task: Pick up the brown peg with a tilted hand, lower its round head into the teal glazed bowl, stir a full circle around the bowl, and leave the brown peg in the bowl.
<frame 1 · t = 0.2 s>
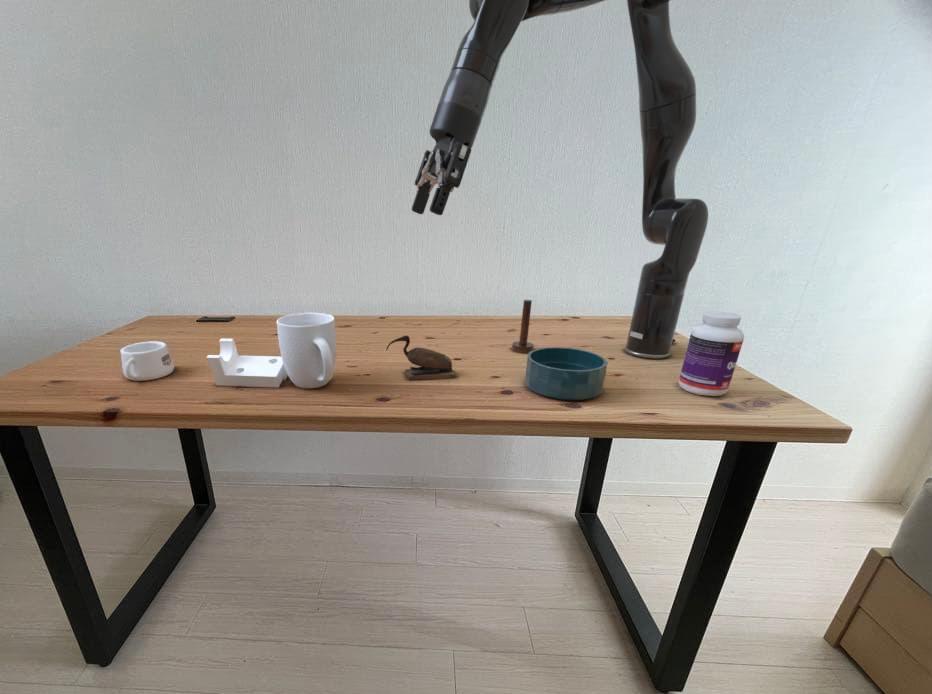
hand: (425, 213, 78), 31 cm above the table, tool tilted 20°, fingers open, 8 cm apart
mug: (313, 385, 91), on the table
bracket: (252, 382, 93), on the table
mug 2: (147, 376, 96), on the table
figurine: (420, 376, 95), on the table
bowl: (561, 387, 88), on the table
pill bottle: (700, 390, 87), on the table
brown peg: (522, 350, 110), on the table
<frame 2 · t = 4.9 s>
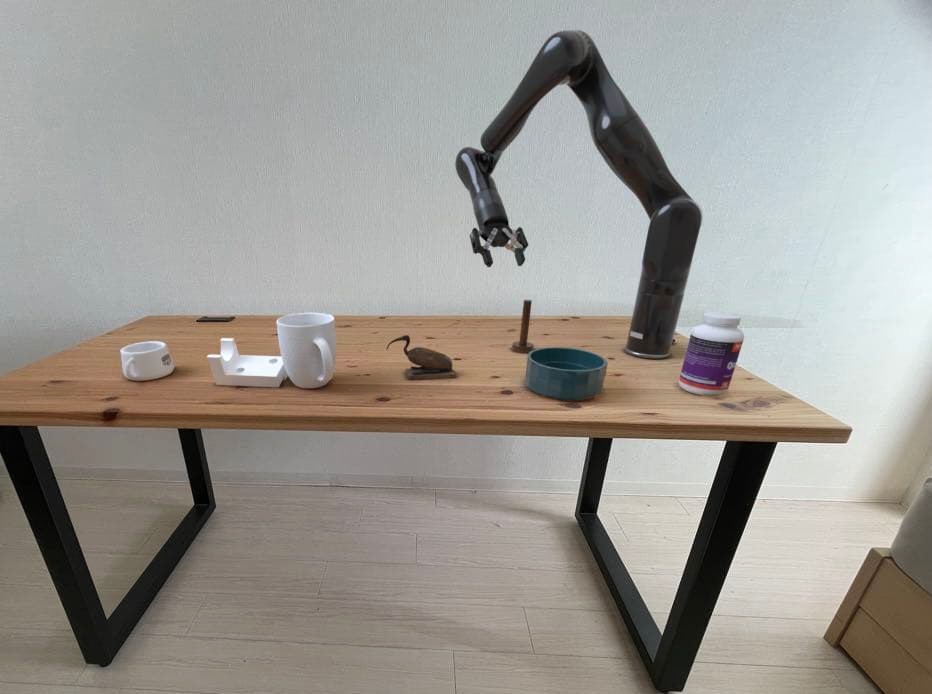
hand: (506, 264, 113), 19 cm above the table, tool tilted 45°, fingers open, 8 cm apart
nothing on the table moved.
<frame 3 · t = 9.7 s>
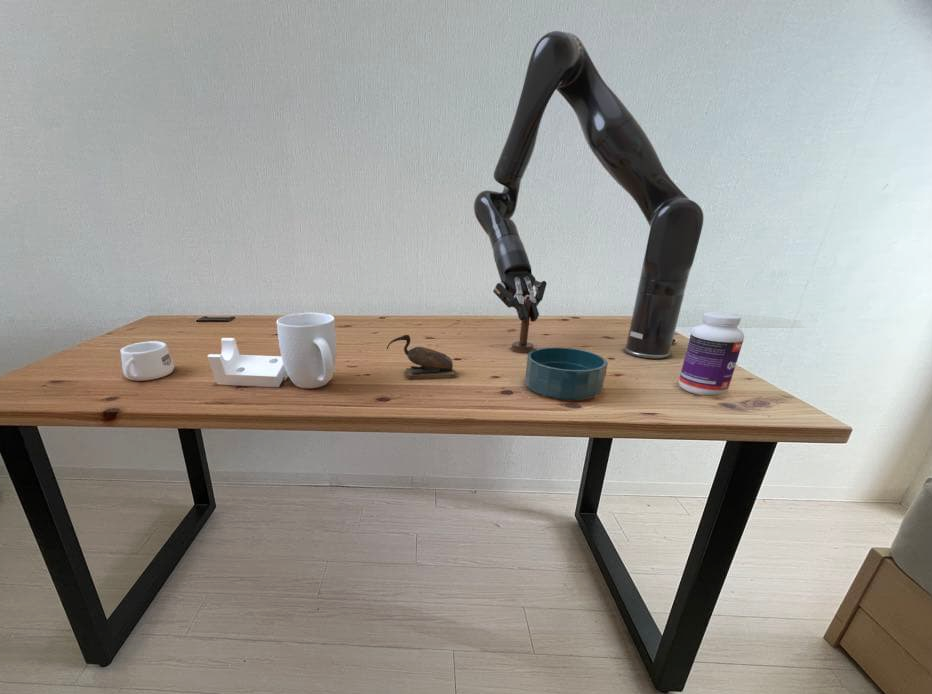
hand: (530, 319, 105), 8 cm above the table, tool tilted 45°, fingers closed on brown peg
brown peg: (522, 350, 110), on the table, touching gripper
everything else where it was.
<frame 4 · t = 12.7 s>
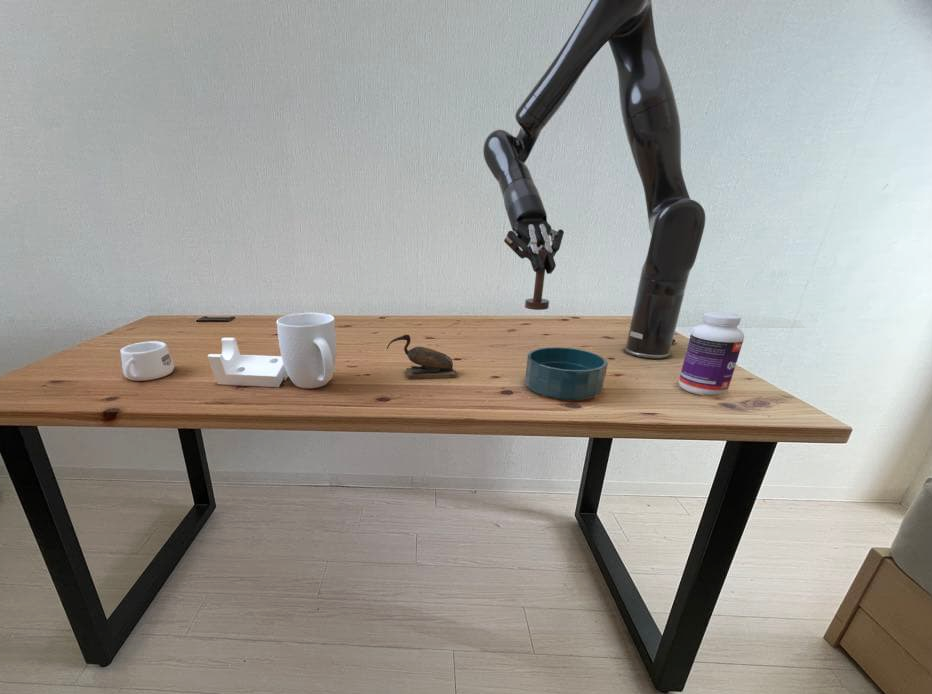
hand: (546, 271, 94), 20 cm above the table, tool tilted 45°, fingers closed on brown peg
brown peg: (536, 307, 99), point 12 cm above the table, touching gripper
everything else where it was.
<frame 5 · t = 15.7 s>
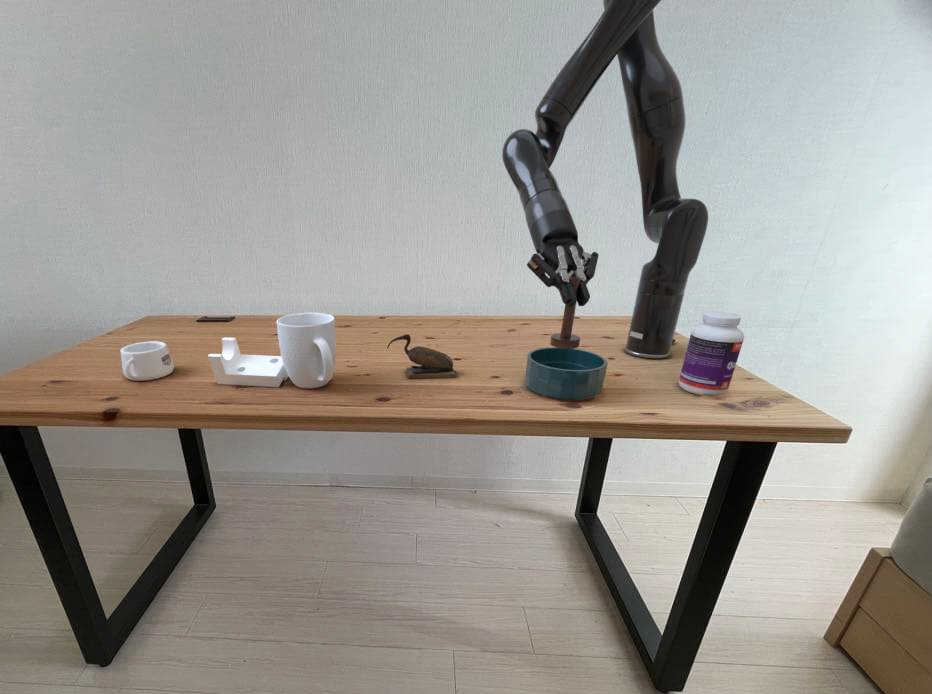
hand: (578, 303, 78), 17 cm above the table, tool tilted 45°, fingers closed on brown peg
brown peg: (564, 344, 83), point 9 cm above the table, touching gripper
everything else where it was.
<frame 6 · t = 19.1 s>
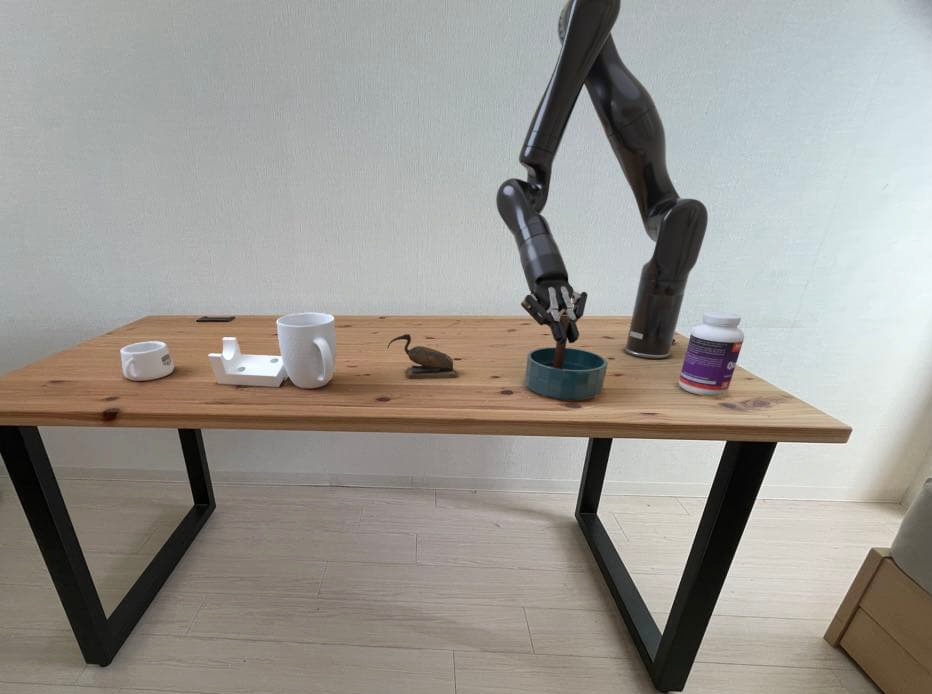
hand: (568, 341, 84), 9 cm above the table, tool tilted 45°, fingers closed on brown peg
brown peg: (556, 377, 89), point 1 cm above the table, touching gripper
everything else where it was.
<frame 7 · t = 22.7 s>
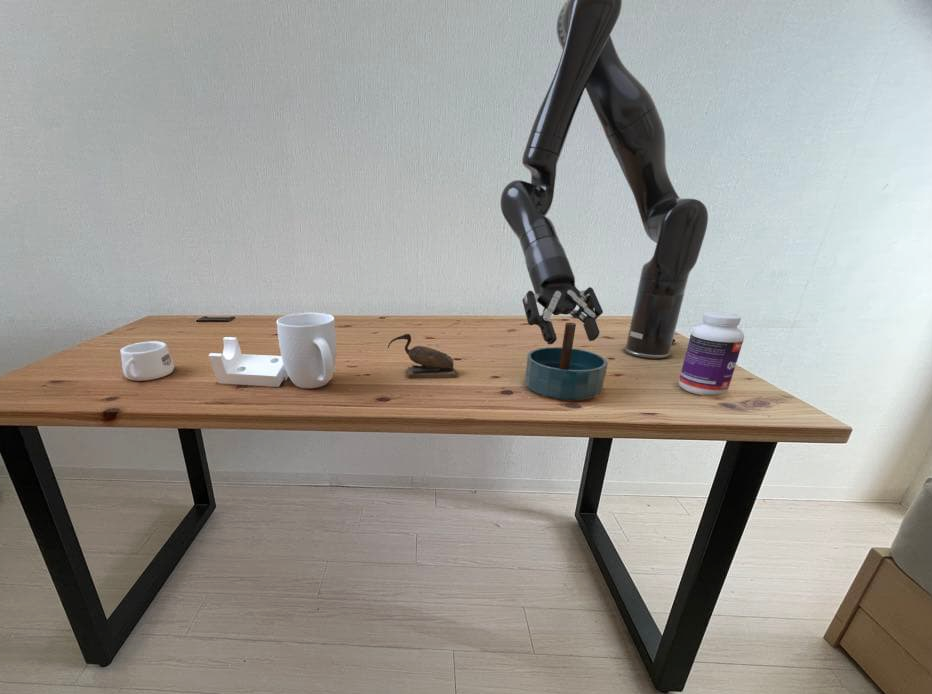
hand: (573, 340, 83), 10 cm above the table, tool tilted 45°, fingers open, 8 cm apart
brown peg: (561, 384, 88), point 1 cm above the table, touching bowl
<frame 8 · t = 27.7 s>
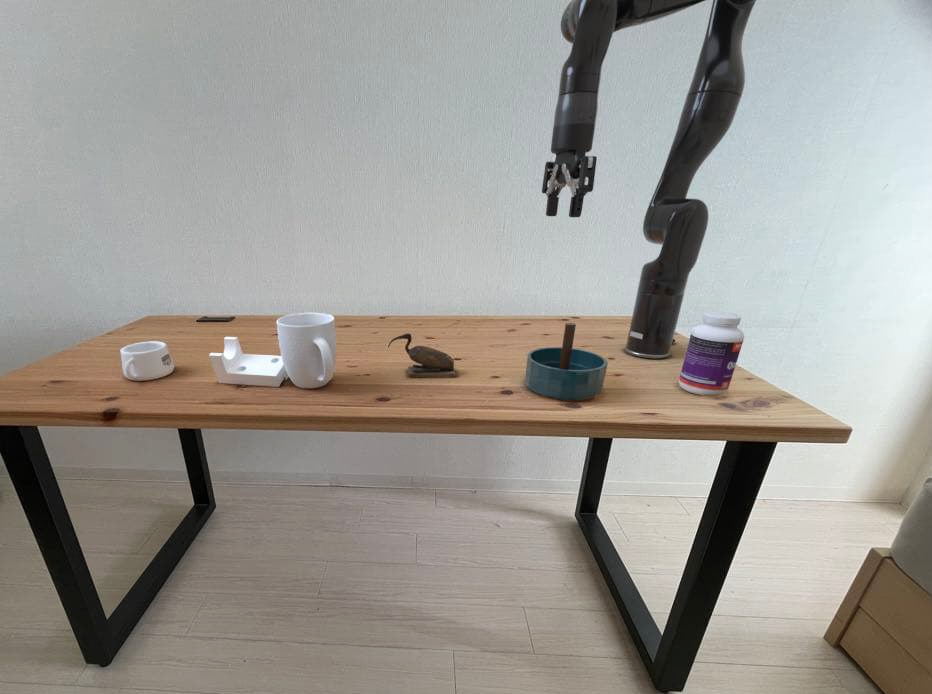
hand: (562, 216, 93), 30 cm above the table, tool pointing down, fingers open, 8 cm apart
at the end: brown peg inside the target area in the bowl (0.1 cm from its centre), point 0.6 cm above the bowl's base; brown peg moved 24.4 cm from its start; the gripper is holding nothing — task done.
